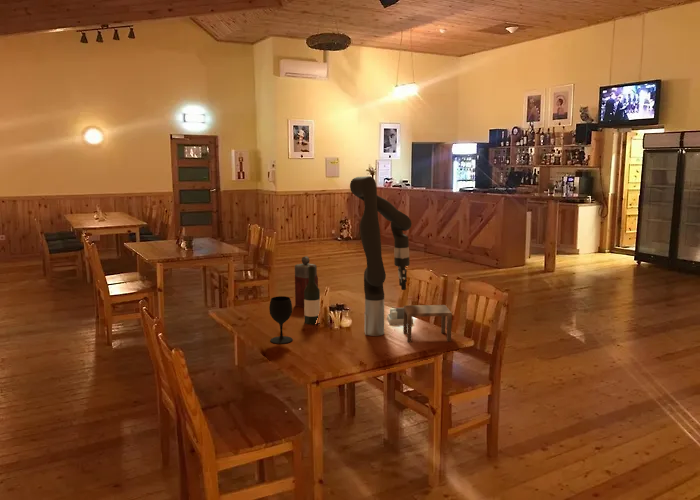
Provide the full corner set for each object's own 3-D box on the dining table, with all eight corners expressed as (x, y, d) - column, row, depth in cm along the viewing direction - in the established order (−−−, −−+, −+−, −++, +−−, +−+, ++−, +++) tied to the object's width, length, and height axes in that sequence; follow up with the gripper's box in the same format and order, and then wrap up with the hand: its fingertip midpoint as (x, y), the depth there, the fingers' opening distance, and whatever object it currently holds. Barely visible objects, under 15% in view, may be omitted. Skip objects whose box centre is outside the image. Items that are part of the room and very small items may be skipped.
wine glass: (274, 345, 262) (273, 302, 259) (267, 338, 271) (265, 297, 268) (296, 341, 267) (295, 299, 263) (287, 335, 276) (287, 294, 273)
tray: (389, 324, 294) (389, 310, 292) (387, 318, 303) (387, 305, 302) (413, 323, 294) (413, 310, 293) (410, 318, 304) (410, 305, 303)
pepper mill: (320, 303, 333) (319, 255, 328) (306, 307, 325) (305, 258, 320) (308, 301, 339) (308, 254, 334) (295, 305, 330) (294, 256, 326)
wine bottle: (301, 323, 295) (300, 265, 290) (308, 319, 303) (307, 262, 298) (316, 325, 292) (315, 266, 287) (323, 320, 300) (322, 263, 295)
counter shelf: (407, 342, 266) (408, 313, 264) (403, 332, 280) (403, 305, 278) (450, 341, 267) (451, 312, 265) (444, 331, 281) (445, 304, 279)
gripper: (392, 253, 295) (393, 284, 298) (395, 259, 281) (396, 291, 284) (407, 253, 295) (408, 284, 298) (411, 258, 281) (412, 290, 284)
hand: (402, 287), depth 291 cm, fingers open, 8 cm apart
